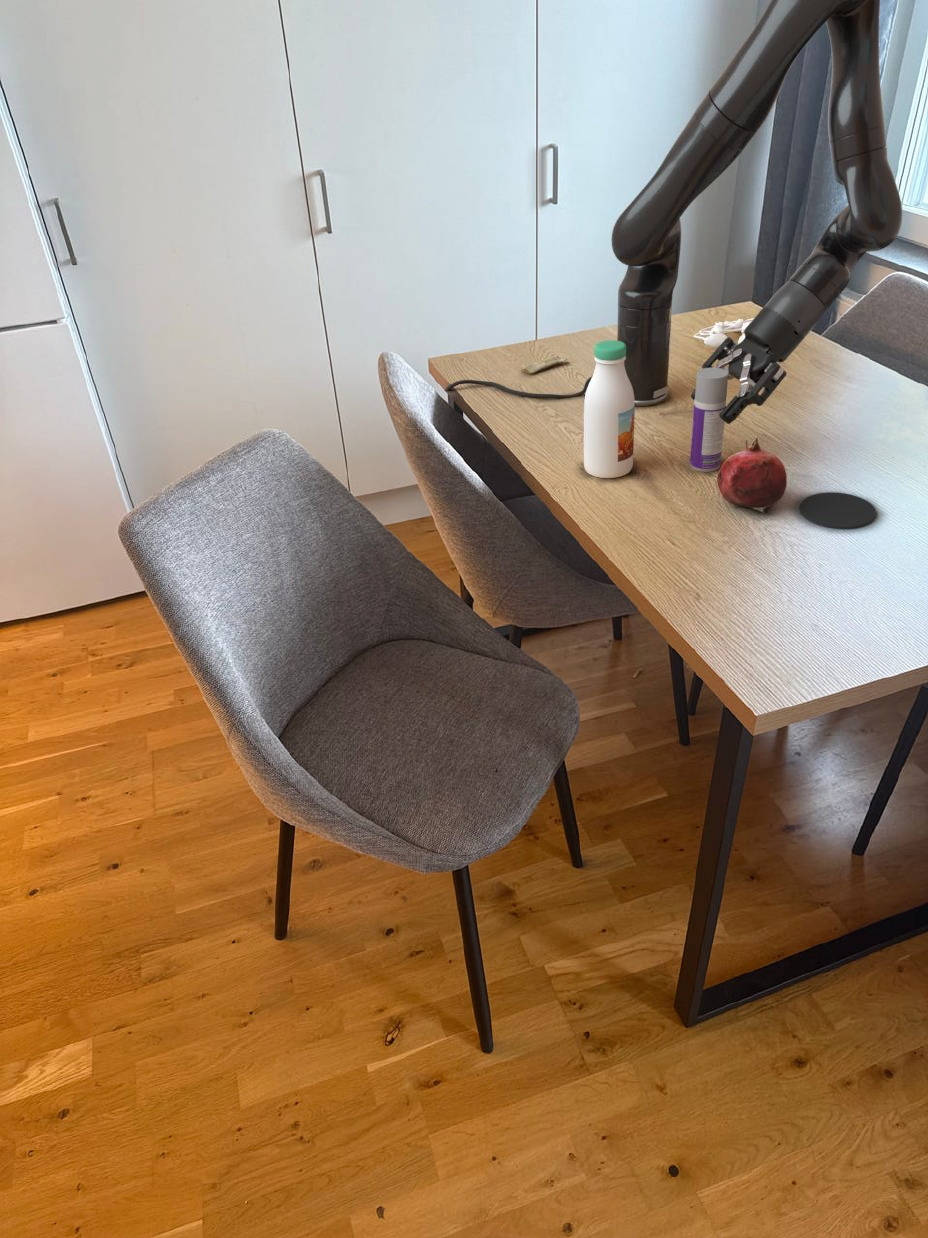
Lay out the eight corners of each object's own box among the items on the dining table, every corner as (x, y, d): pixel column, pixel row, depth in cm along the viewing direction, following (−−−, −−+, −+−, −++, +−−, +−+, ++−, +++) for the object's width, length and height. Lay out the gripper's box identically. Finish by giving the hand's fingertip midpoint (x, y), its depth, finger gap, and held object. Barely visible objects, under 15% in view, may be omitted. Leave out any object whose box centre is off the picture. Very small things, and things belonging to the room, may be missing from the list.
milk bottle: (601, 484, 140) (603, 357, 128) (574, 466, 146) (573, 343, 134) (642, 470, 143) (647, 345, 131) (614, 453, 148) (616, 332, 137)
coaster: (790, 519, 127) (791, 517, 127) (810, 489, 134) (811, 487, 133) (865, 535, 122) (866, 532, 122) (882, 502, 129) (883, 500, 129)
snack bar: (530, 372, 179) (521, 364, 181) (528, 378, 181) (520, 370, 182) (568, 359, 183) (559, 351, 185) (566, 365, 184) (558, 357, 186)
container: (686, 460, 144) (692, 368, 136) (715, 457, 144) (723, 365, 136) (694, 473, 141) (701, 379, 132) (724, 470, 141) (733, 376, 132)
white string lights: (710, 328, 198) (710, 308, 196) (779, 327, 191) (780, 307, 189) (687, 355, 184) (686, 335, 182) (760, 355, 177) (761, 334, 175)
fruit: (773, 525, 126) (782, 459, 120) (706, 511, 131) (712, 447, 125) (792, 496, 132) (801, 432, 126) (728, 484, 137) (734, 422, 131)
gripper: (744, 294, 136) (671, 381, 141) (800, 319, 125) (719, 413, 129) (771, 323, 141) (699, 407, 145) (827, 350, 129) (748, 440, 134)
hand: (708, 410), depth 137 cm, fingers open, 8 cm apart
